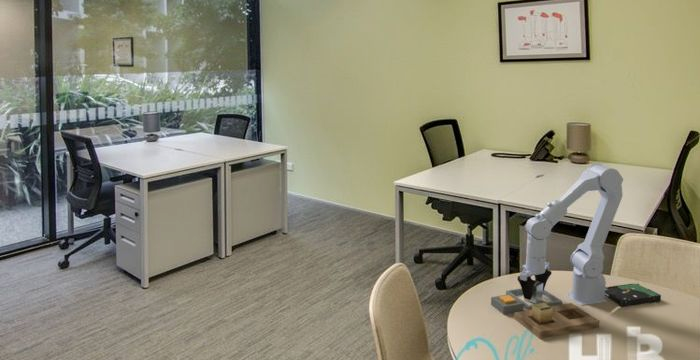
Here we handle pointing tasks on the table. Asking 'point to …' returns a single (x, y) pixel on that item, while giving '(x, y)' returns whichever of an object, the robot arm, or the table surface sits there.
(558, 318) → the wooden pocket board
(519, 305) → the button housing
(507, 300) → the button
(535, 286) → the block
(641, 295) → the disk drive
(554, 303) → the tray
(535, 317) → the block
